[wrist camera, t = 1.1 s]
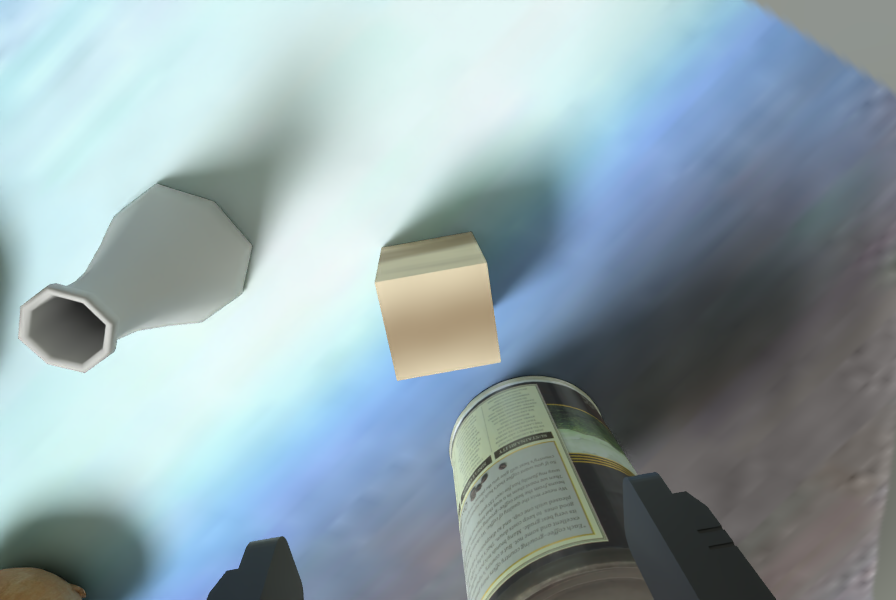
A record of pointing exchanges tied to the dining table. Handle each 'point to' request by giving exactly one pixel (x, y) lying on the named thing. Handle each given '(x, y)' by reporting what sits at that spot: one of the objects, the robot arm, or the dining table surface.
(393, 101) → the dining table surface
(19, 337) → the flask
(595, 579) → the coffee can
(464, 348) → the maple block
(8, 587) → the onion
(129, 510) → the dining table surface
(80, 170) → the dining table surface
